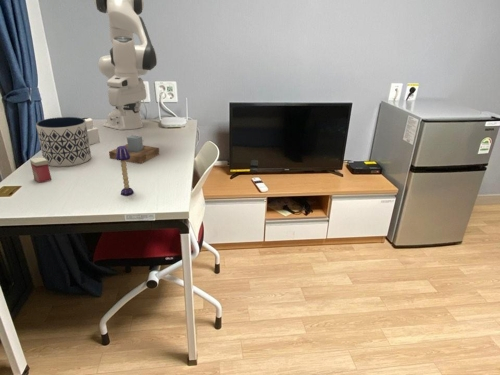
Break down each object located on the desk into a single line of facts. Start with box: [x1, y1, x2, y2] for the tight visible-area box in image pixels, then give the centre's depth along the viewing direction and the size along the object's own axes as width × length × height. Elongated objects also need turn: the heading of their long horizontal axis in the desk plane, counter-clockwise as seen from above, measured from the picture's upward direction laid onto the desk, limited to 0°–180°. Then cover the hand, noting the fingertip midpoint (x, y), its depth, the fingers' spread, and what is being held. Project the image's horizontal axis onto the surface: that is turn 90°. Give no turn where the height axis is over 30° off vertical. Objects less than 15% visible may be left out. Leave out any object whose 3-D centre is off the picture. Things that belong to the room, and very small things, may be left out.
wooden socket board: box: [108, 143, 160, 165], centre depth 154 cm, size 16×14×3 cm
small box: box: [29, 156, 52, 183], centre depth 126 cm, size 5×4×8 cm
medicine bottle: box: [81, 117, 100, 146], centre depth 167 cm, size 7×7×12 cm
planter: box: [35, 116, 92, 168], centre depth 144 cm, size 18×18×16 cm
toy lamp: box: [115, 145, 135, 197], centre depth 117 cm, size 5×5×17 cm
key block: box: [126, 134, 144, 153], centre depth 154 cm, size 5×5×8 cm
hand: (130, 113), depth 147 cm, fingers open, 8 cm apart
